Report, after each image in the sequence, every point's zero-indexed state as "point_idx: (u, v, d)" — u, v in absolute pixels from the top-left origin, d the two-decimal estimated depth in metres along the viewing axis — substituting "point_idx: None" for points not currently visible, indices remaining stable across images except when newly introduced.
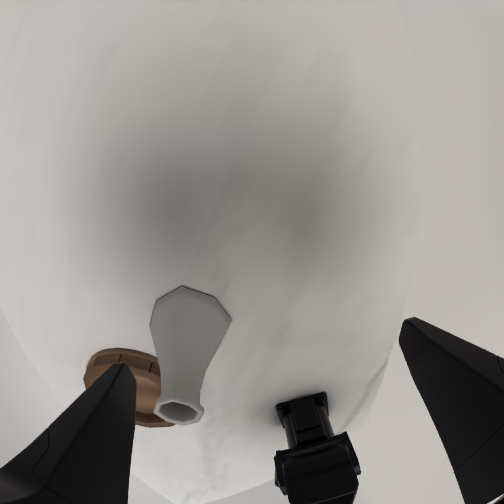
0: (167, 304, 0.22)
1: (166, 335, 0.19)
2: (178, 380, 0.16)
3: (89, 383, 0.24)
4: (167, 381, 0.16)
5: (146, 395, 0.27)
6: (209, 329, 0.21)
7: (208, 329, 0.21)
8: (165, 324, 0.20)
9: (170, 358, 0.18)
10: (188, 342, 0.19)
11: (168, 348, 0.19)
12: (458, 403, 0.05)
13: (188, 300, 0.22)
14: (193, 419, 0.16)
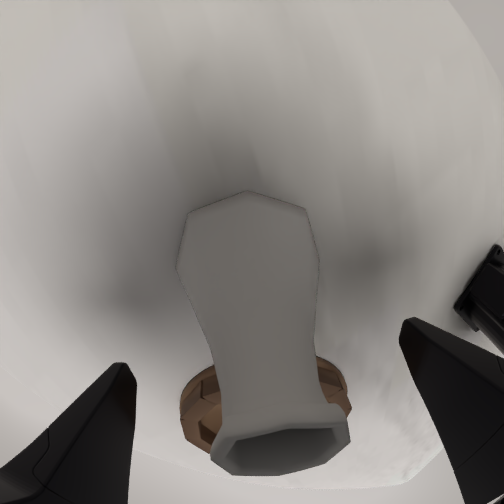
0: (183, 254, 0.12)
1: (198, 299, 0.10)
2: (242, 371, 0.06)
3: (198, 441, 0.17)
4: (224, 388, 0.06)
5: None
6: (267, 236, 0.10)
7: (265, 237, 0.10)
8: (192, 283, 0.11)
9: (215, 334, 0.08)
10: (232, 279, 0.09)
11: (207, 318, 0.09)
12: (458, 403, 0.05)
13: (206, 220, 0.11)
14: (335, 444, 0.05)
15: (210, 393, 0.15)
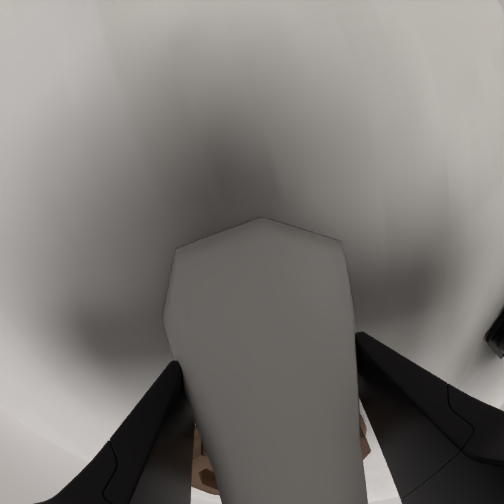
0: (171, 309, 0.08)
1: (192, 390, 0.06)
2: None
3: (199, 486, 0.14)
4: None
5: None
6: (296, 296, 0.07)
7: (293, 300, 0.06)
8: (182, 360, 0.07)
9: (220, 462, 0.04)
10: (245, 383, 0.05)
11: (206, 429, 0.05)
12: (399, 432, 0.05)
13: (201, 264, 0.08)
14: None
15: None
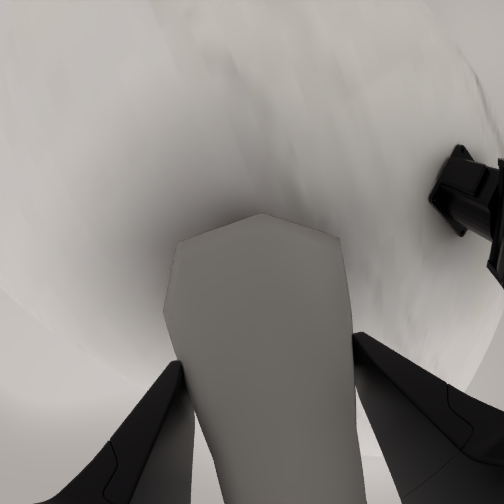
0: (172, 301, 0.09)
1: (192, 379, 0.06)
2: None
3: None
4: None
5: None
6: (295, 288, 0.07)
7: (292, 292, 0.07)
8: (183, 350, 0.07)
9: (219, 449, 0.04)
10: (245, 370, 0.05)
11: (206, 417, 0.05)
12: (399, 432, 0.05)
13: (202, 257, 0.08)
14: None
15: None
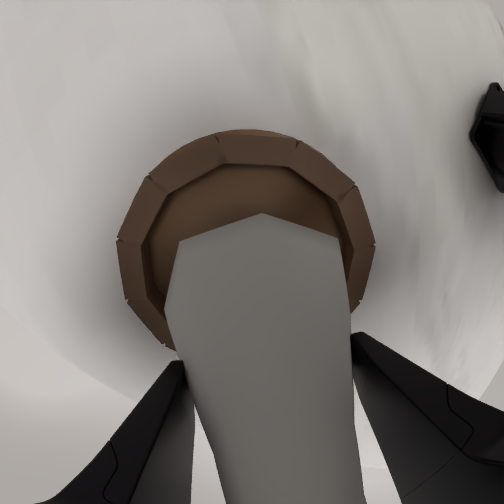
0: (174, 299, 0.09)
1: (193, 375, 0.06)
2: None
3: (144, 307, 0.13)
4: None
5: None
6: (294, 287, 0.07)
7: (291, 290, 0.07)
8: (184, 347, 0.07)
9: (220, 443, 0.05)
10: (245, 366, 0.05)
11: (207, 412, 0.05)
12: (399, 432, 0.05)
13: (204, 256, 0.08)
14: None
15: (160, 165, 0.11)
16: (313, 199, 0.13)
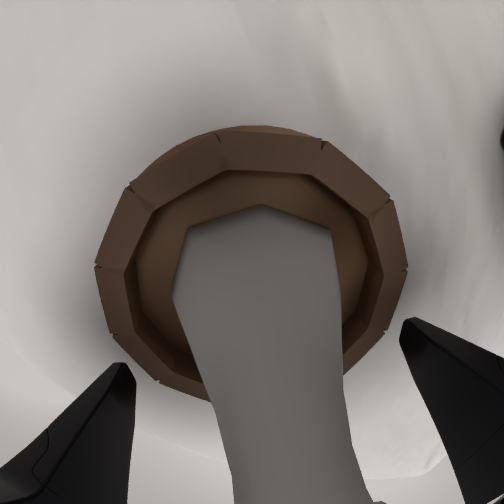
0: (181, 279, 0.10)
1: (198, 343, 0.07)
2: (263, 465, 0.04)
3: (132, 342, 0.10)
4: (236, 475, 0.04)
5: None
6: (289, 266, 0.08)
7: (286, 268, 0.08)
8: (190, 320, 0.08)
9: (222, 400, 0.06)
10: (246, 328, 0.06)
11: (211, 374, 0.06)
12: (458, 403, 0.05)
13: (209, 239, 0.09)
14: None
15: (143, 173, 0.08)
16: (337, 214, 0.11)
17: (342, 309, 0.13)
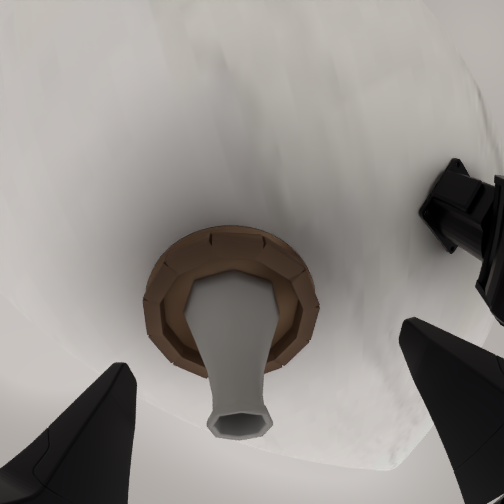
0: (190, 308, 0.18)
1: (200, 340, 0.16)
2: (223, 386, 0.13)
3: (160, 340, 0.19)
4: (214, 393, 0.13)
5: None
6: (243, 306, 0.17)
7: (241, 308, 0.17)
8: (196, 329, 0.17)
9: (210, 364, 0.14)
10: (221, 335, 0.15)
11: (205, 354, 0.15)
12: (458, 403, 0.05)
13: (206, 289, 0.18)
14: (265, 424, 0.12)
15: (172, 257, 0.17)
16: (277, 273, 0.20)
17: (283, 325, 0.21)
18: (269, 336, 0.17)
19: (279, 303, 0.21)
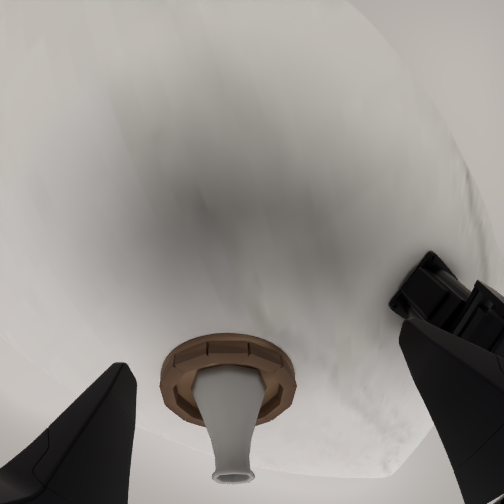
0: (196, 389, 0.22)
1: (205, 417, 0.20)
2: (221, 454, 0.16)
3: (175, 408, 0.23)
4: (216, 457, 0.17)
5: None
6: (235, 395, 0.21)
7: (234, 396, 0.21)
8: (201, 408, 0.21)
9: (212, 436, 0.18)
10: (219, 418, 0.19)
11: (209, 428, 0.19)
12: (458, 403, 0.05)
13: (207, 380, 0.22)
14: (250, 477, 0.15)
15: (179, 362, 0.21)
16: None
17: (270, 393, 0.25)
18: (255, 412, 0.21)
19: (265, 380, 0.24)
